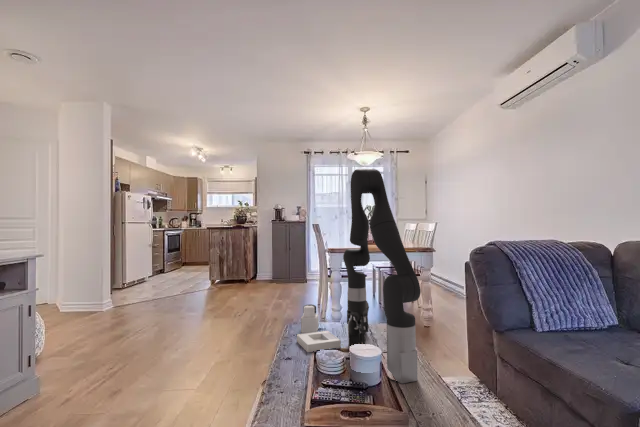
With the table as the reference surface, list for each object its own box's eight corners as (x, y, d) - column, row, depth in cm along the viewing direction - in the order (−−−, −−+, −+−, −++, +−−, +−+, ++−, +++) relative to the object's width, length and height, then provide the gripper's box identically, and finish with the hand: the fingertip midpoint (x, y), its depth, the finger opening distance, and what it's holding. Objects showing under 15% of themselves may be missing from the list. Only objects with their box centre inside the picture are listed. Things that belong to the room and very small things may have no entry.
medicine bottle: (303, 328, 176) (303, 303, 177) (318, 329, 175) (318, 303, 176) (300, 333, 169) (300, 306, 170) (316, 333, 168) (316, 307, 169)
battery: (350, 350, 146) (350, 321, 146) (347, 347, 150) (347, 319, 150) (367, 349, 148) (367, 320, 148) (363, 346, 151) (363, 317, 152)
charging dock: (340, 347, 149) (340, 340, 150) (307, 352, 144) (307, 344, 145) (327, 337, 163) (327, 330, 163) (296, 341, 158) (296, 334, 158)
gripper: (373, 301, 144) (374, 343, 144) (357, 294, 157) (357, 333, 157) (356, 302, 141) (356, 345, 141) (341, 295, 154) (341, 335, 154)
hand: (357, 339), depth 149 cm, fingers open, 8 cm apart
